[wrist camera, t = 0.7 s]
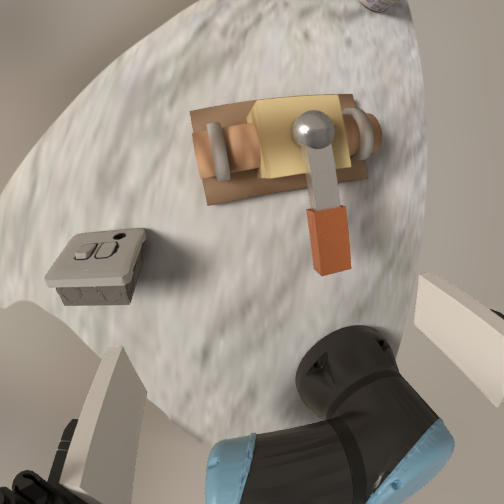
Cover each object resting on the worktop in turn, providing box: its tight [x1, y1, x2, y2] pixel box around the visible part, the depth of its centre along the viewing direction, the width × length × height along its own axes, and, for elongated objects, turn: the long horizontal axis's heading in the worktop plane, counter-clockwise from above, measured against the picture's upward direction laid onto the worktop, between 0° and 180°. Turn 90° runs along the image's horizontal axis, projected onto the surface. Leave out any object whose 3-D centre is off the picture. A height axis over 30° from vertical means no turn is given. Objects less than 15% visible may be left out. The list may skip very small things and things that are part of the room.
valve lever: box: [290, 110, 351, 276], centre depth 21 cm, size 12×3×2 cm, turn 10°
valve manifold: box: [190, 94, 382, 206], centre depth 25 cm, size 10×18×9 cm, turn 100°
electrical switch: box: [44, 228, 146, 306], centre depth 26 cm, size 9×5×9 cm, turn 92°
